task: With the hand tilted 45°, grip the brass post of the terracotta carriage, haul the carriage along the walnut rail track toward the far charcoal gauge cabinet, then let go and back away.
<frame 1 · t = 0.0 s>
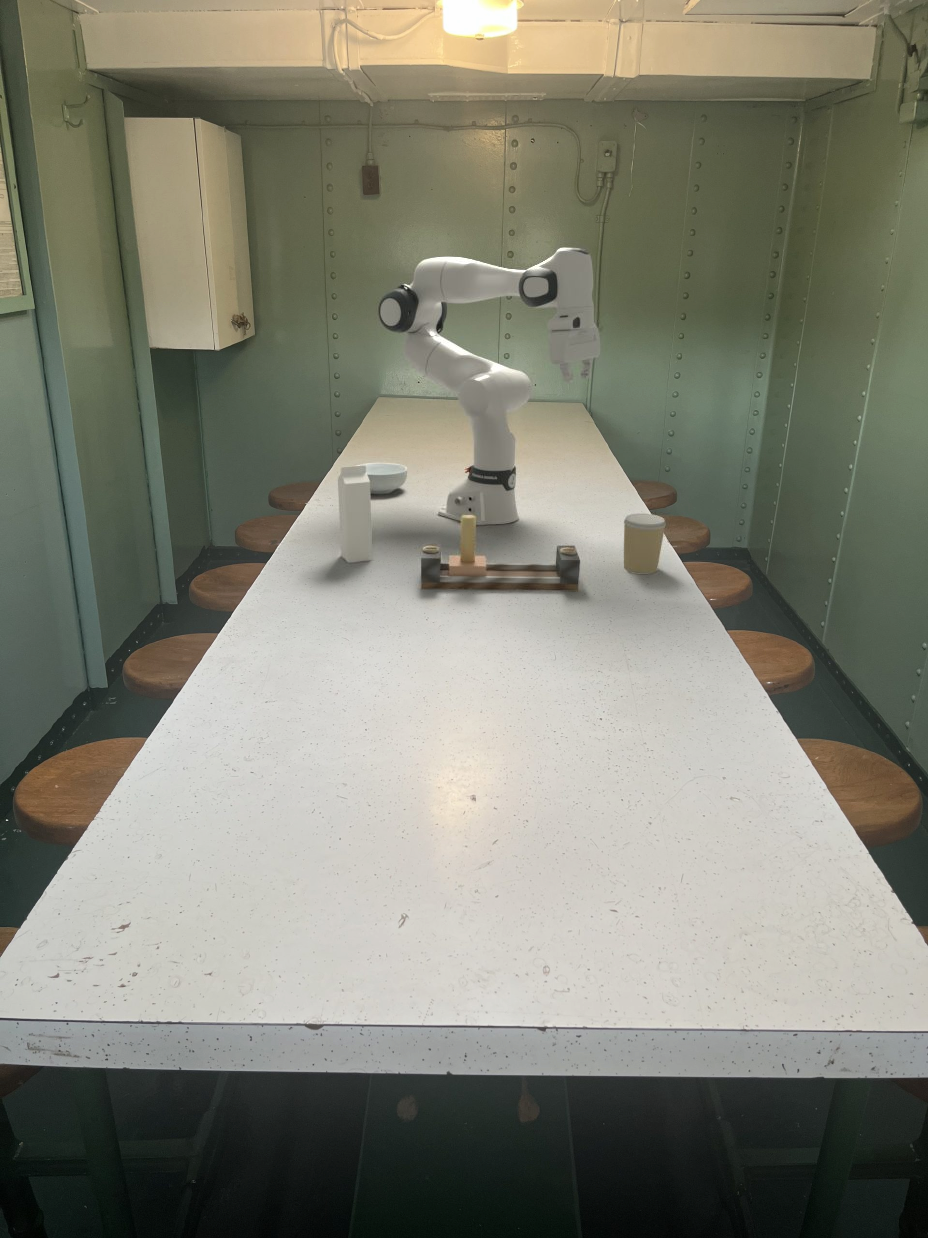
hand: (576, 379, 214), 39 cm above the table, tool pointing down, fingers open, 8 cm apart
milk: (356, 558, 208), on the table
carriage: (467, 545, 191), point 8 cm above the table, slide at -7.0 cm
cereal bowl: (379, 491, 266), on the table
rail track: (498, 581, 195), on the table
coffee cup: (640, 569, 204), on the table
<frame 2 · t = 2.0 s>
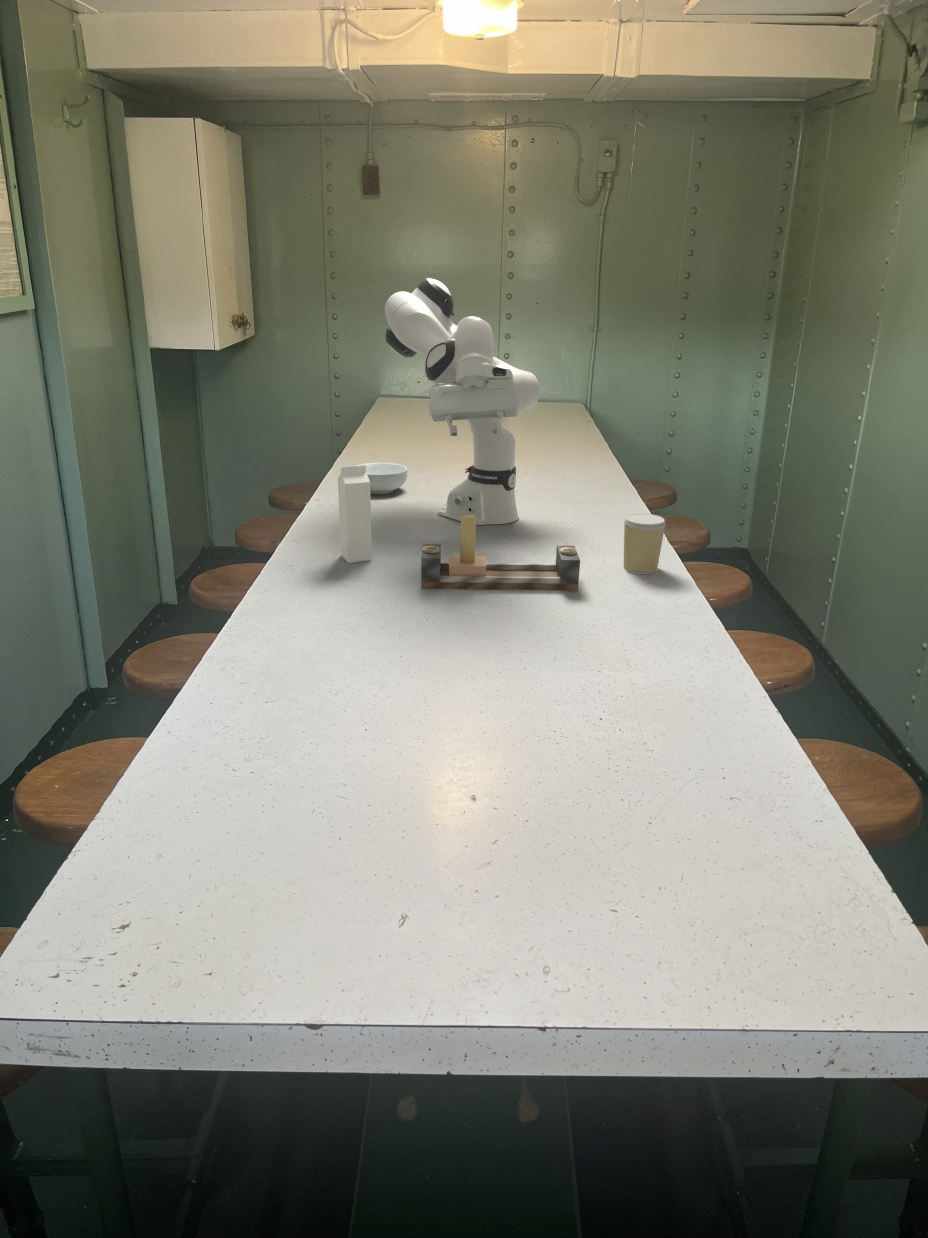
hand: (474, 433, 194), 30 cm above the table, tool tilted 45°, fingers open, 8 cm apart
nothing on the table moved.
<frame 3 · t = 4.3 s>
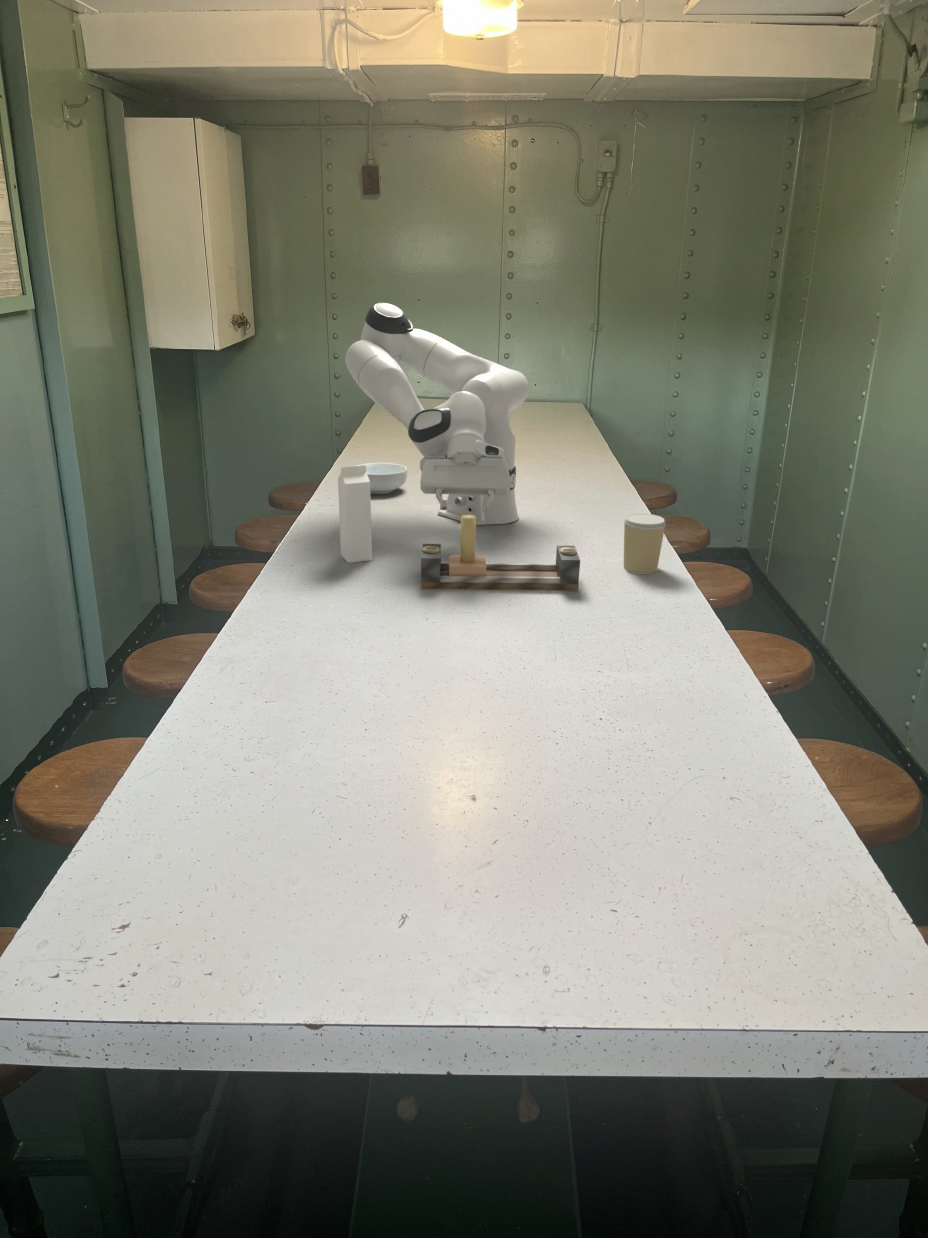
hand: (464, 509, 195), 15 cm above the table, tool tilted 45°, fingers open, 8 cm apart
nothing on the table moved.
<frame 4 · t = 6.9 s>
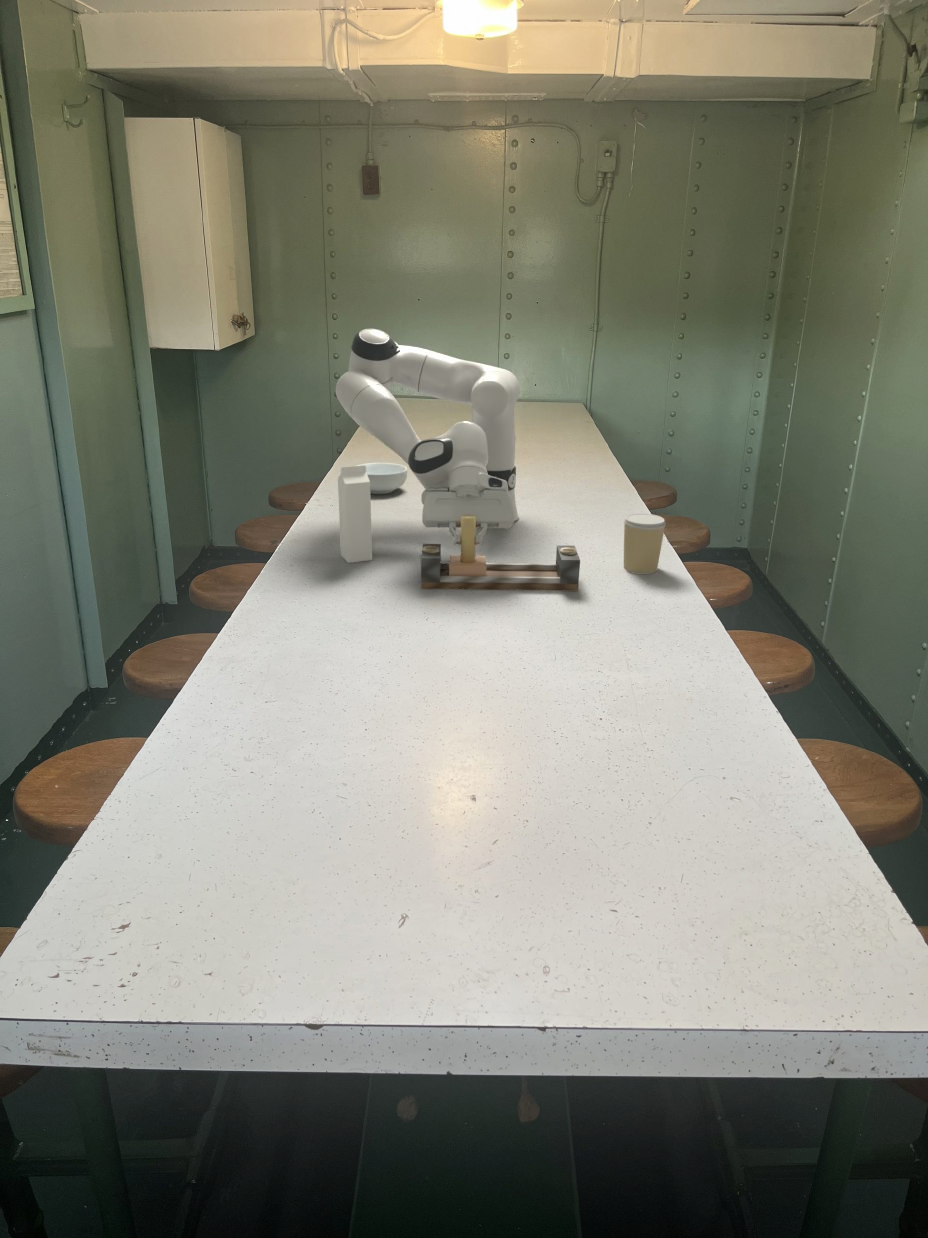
hand: (468, 543, 190), 9 cm above the table, tool tilted 45°, fingers closed on carriage, 3 cm apart
carriage: (467, 545, 191), point 8 cm above the table, slide at -7.0 cm, touching gripper
everything else where it was.
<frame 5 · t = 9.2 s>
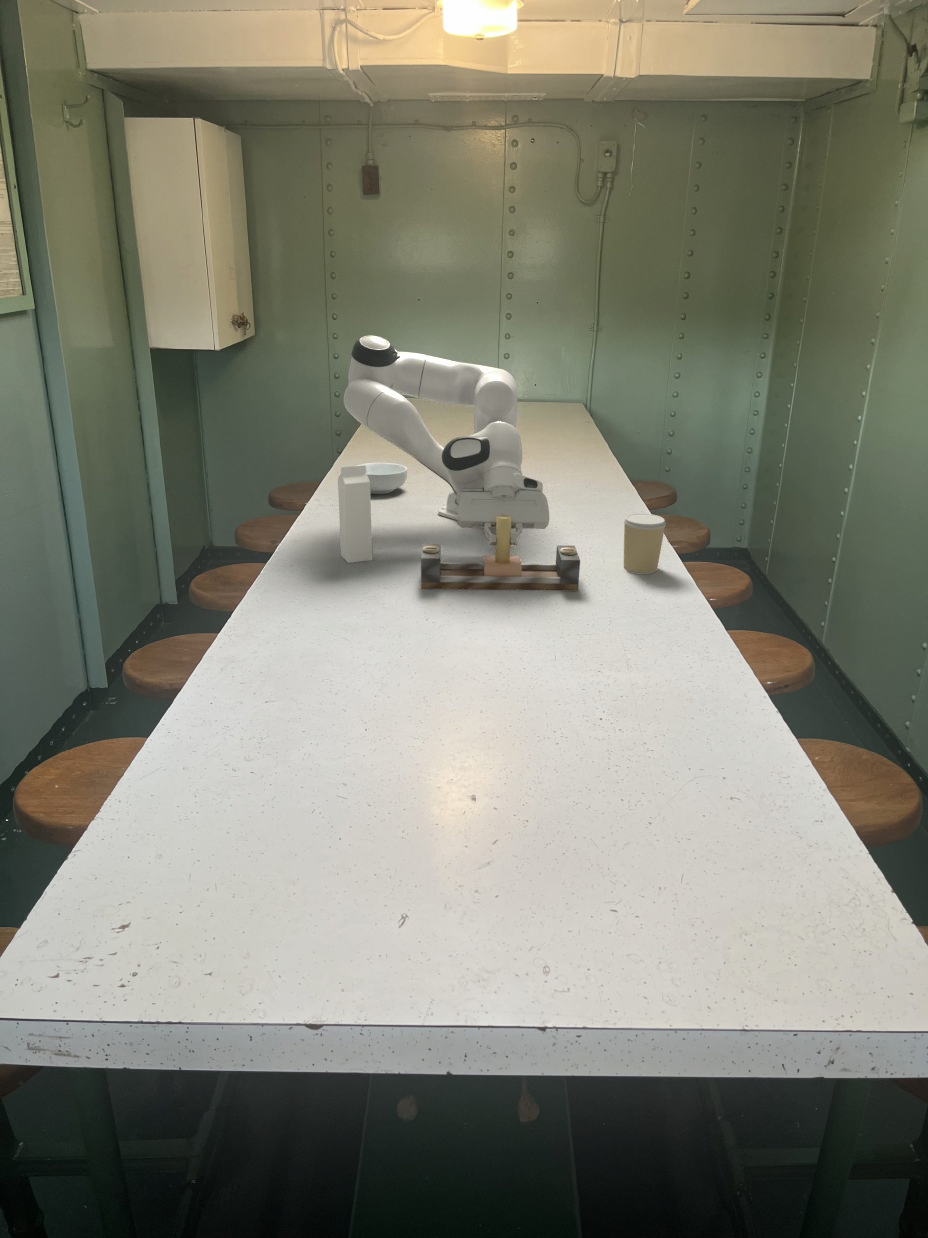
hand: (503, 544, 191), 9 cm above the table, tool tilted 45°, fingers closed on carriage, 3 cm apart
carriage: (502, 546, 191), point 8 cm above the table, slide at 0.7 cm, touching gripper
everything else where it was.
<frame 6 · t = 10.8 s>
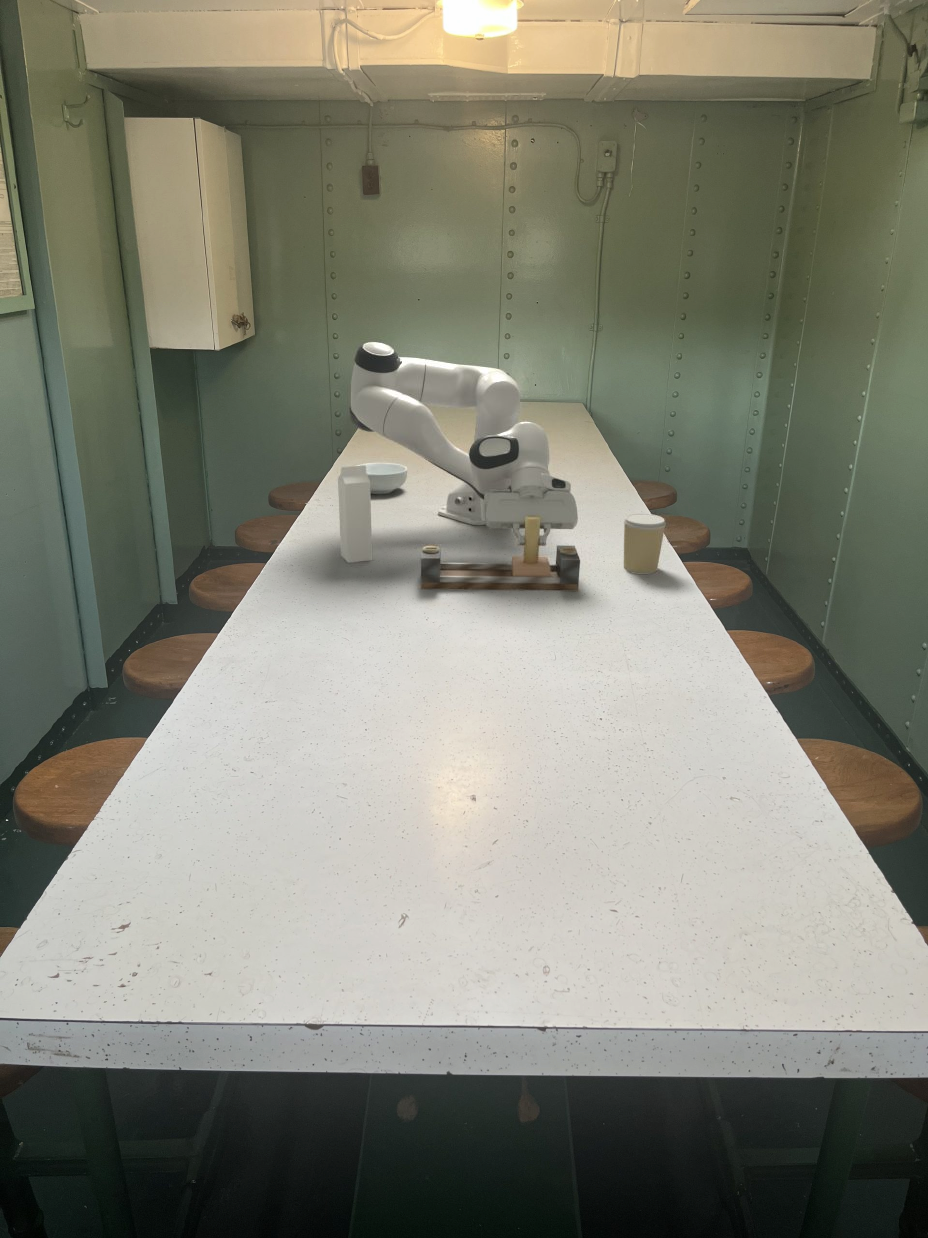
hand: (531, 544, 191), 9 cm above the table, tool tilted 45°, fingers closed on carriage, 3 cm apart
carriage: (531, 546, 191), point 8 cm above the table, slide at 6.9 cm, touching gripper
everything else where it was.
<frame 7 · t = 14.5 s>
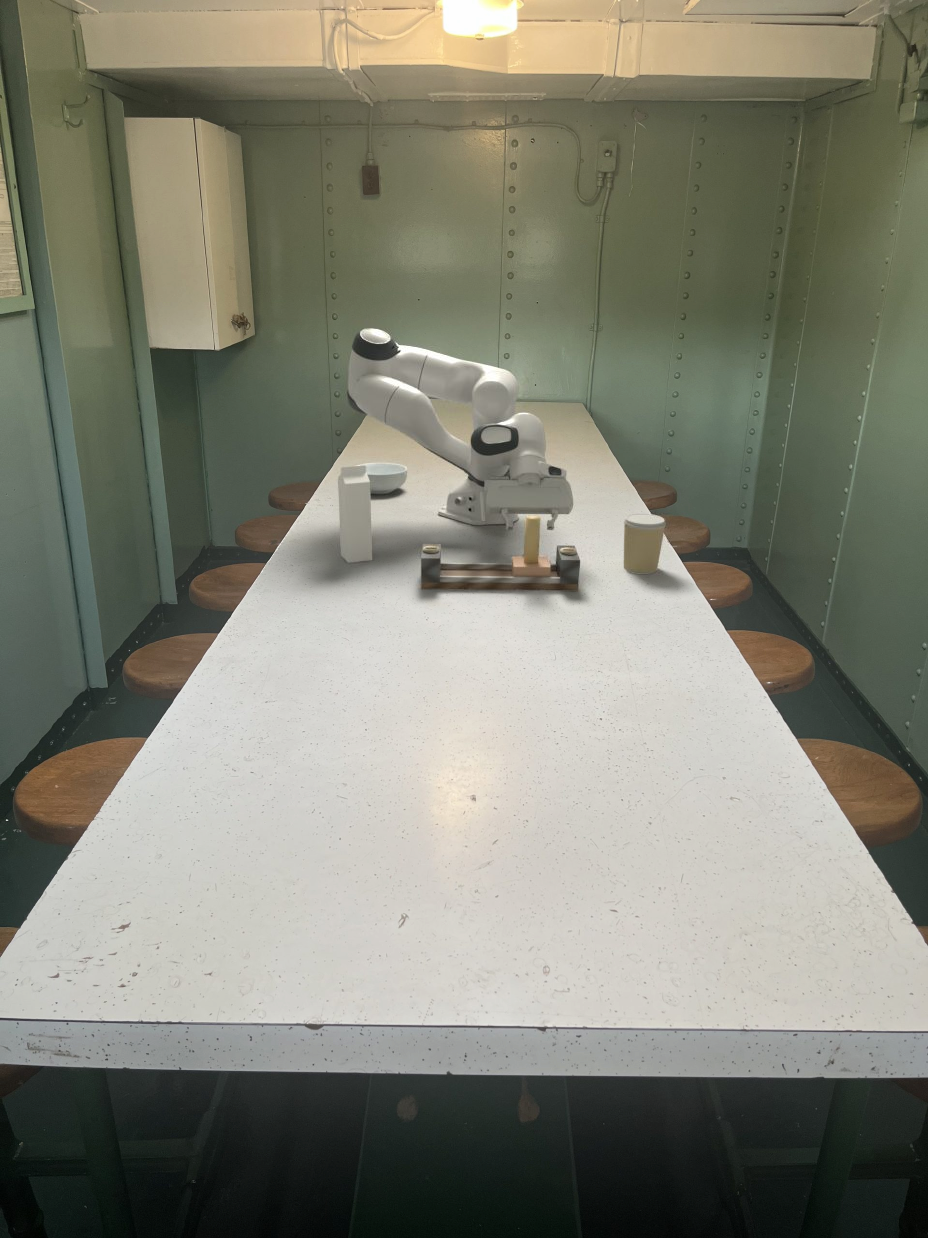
hand: (530, 528, 201), 9 cm above the table, tool tilted 45°, fingers open, 8 cm apart
carriage: (531, 546, 191), point 8 cm above the table, slide at 6.9 cm
everything else where it was.
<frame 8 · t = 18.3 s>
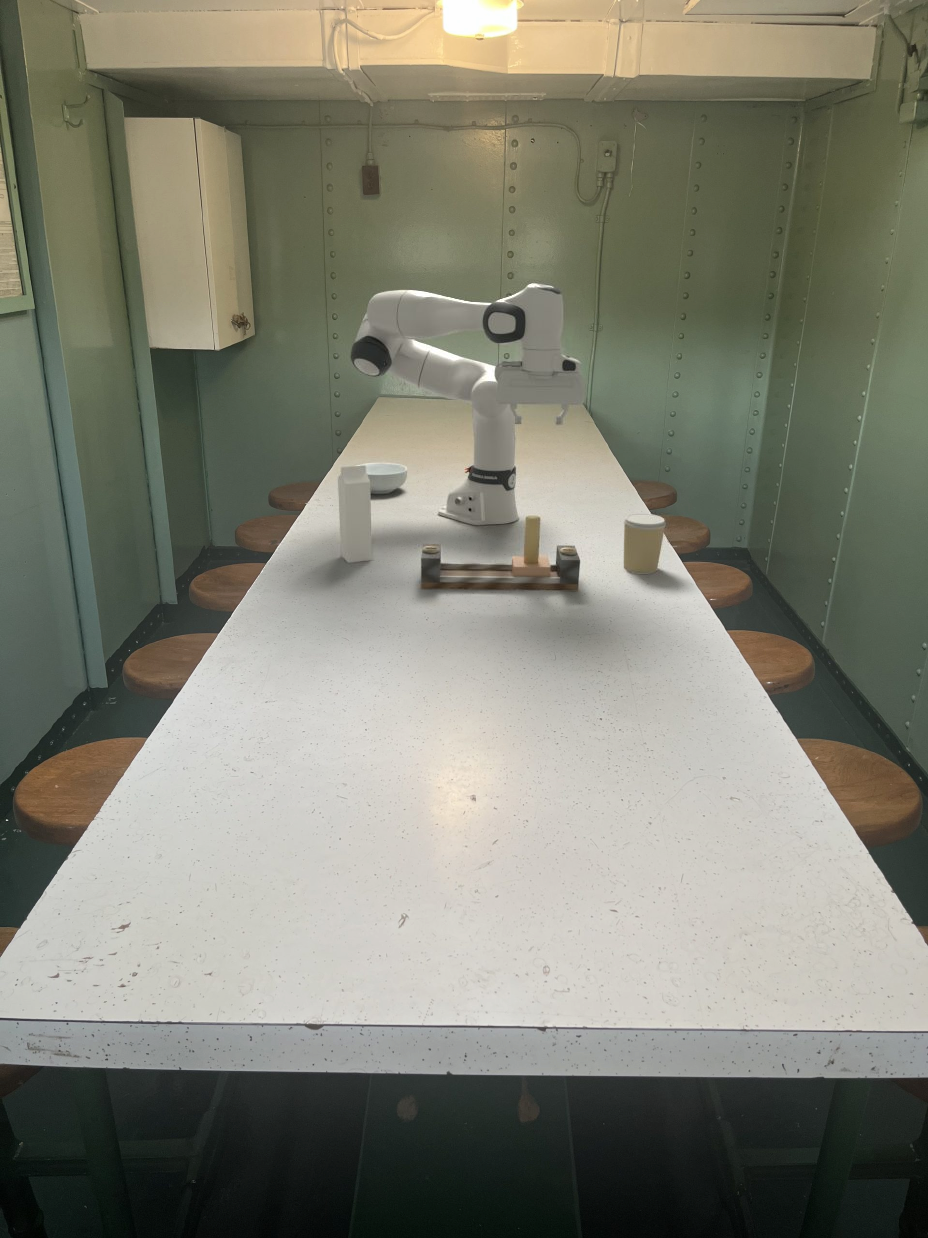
hand: (538, 424, 201), 31 cm above the table, tool pointing down, fingers open, 8 cm apart
nothing on the table moved.
at the end: carriage slide at 6.9 cm; the gripper is holding nothing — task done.
